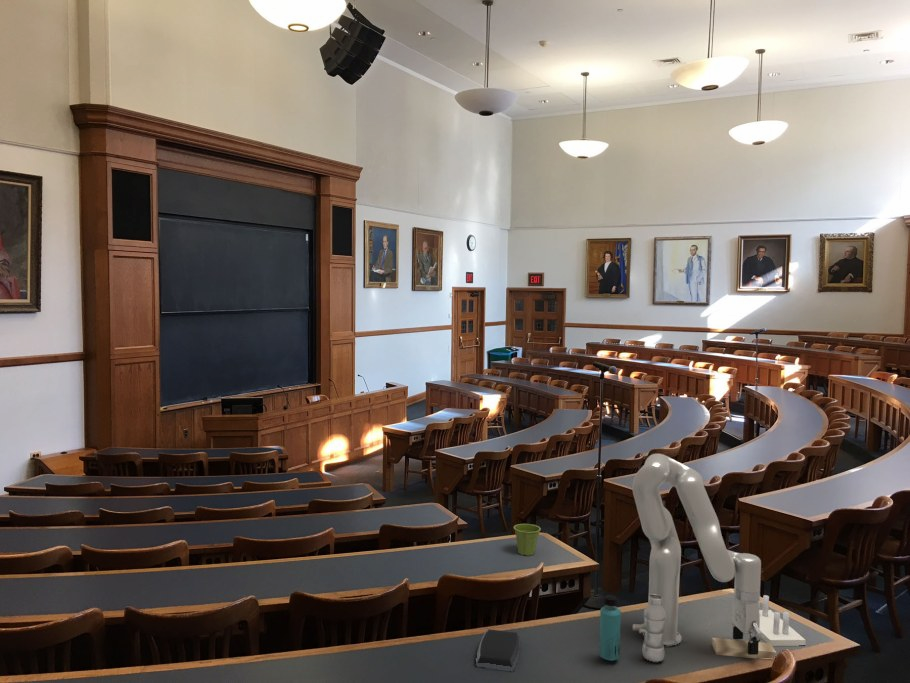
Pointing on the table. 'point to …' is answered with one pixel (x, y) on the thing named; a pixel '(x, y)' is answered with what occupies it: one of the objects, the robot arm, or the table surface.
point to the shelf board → (741, 648)
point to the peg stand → (777, 627)
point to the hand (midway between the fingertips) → (745, 646)
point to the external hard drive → (498, 648)
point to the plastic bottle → (654, 629)
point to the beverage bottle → (609, 629)
